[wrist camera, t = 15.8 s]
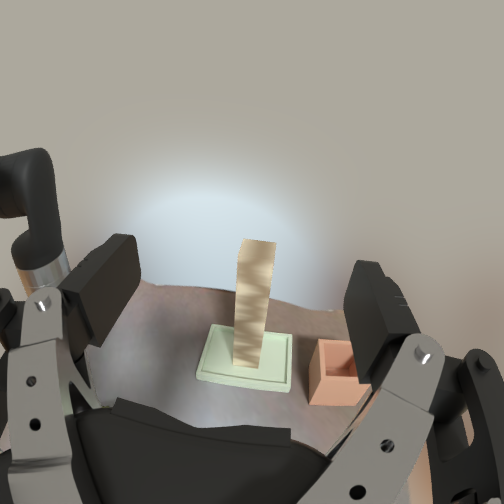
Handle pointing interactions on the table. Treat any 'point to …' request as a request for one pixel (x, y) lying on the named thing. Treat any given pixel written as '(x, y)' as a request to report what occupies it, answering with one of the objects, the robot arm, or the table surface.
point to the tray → (264, 378)
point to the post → (252, 300)
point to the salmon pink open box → (334, 375)
